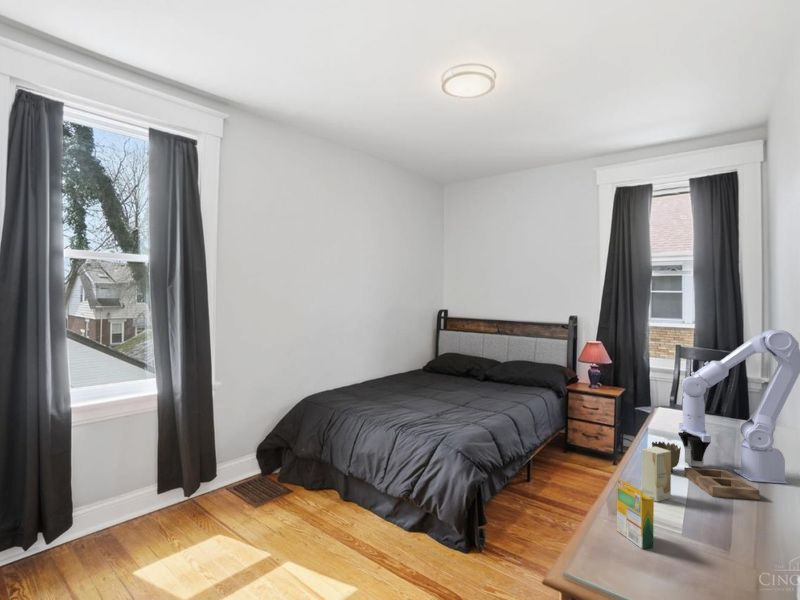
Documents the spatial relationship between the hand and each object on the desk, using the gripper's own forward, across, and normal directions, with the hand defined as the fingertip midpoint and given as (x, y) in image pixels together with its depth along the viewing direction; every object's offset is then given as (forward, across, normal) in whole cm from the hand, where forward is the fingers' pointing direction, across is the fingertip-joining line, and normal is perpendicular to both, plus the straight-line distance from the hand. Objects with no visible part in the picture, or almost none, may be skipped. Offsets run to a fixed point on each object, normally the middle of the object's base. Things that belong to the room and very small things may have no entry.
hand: (694, 458), depth 131 cm
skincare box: (+3, +26, -22) cm, 34 cm away
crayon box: (+3, +49, -36) cm, 61 cm away
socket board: (+2, +16, -2) cm, 16 cm away
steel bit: (+2, 0, 0) cm, 2 cm away
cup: (+3, +6, -11) cm, 13 cm away
